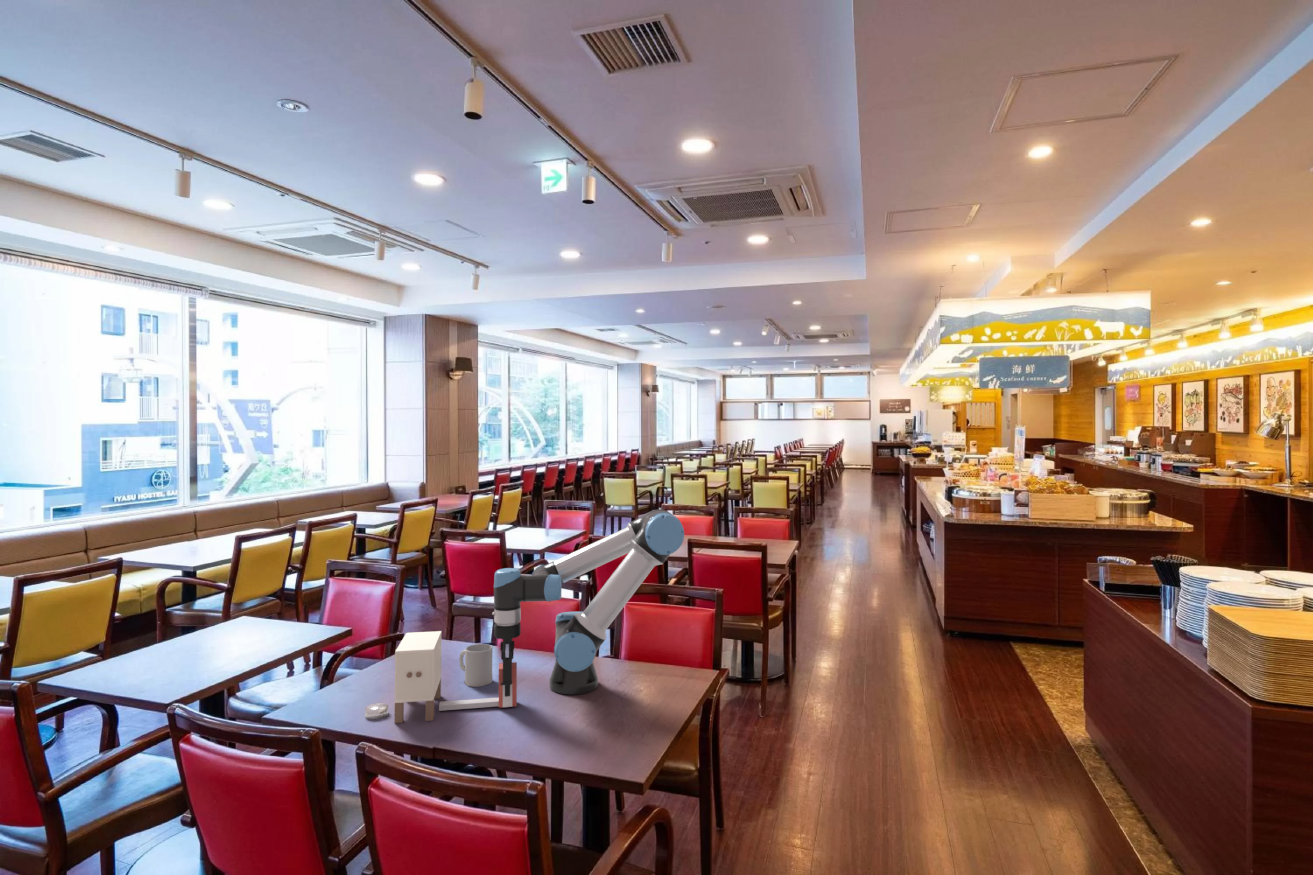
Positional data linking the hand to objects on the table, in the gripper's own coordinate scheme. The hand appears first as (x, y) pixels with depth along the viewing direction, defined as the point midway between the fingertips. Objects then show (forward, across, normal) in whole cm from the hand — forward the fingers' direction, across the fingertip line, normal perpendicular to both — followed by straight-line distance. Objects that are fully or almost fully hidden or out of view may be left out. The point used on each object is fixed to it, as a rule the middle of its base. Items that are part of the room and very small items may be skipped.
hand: (507, 702), depth 193 cm
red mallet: (0, 0, -8) cm, 8 cm away
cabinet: (+1, -2, -25) cm, 25 cm away
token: (+1, 0, -36) cm, 36 cm away
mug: (+1, -22, -11) cm, 25 cm away
